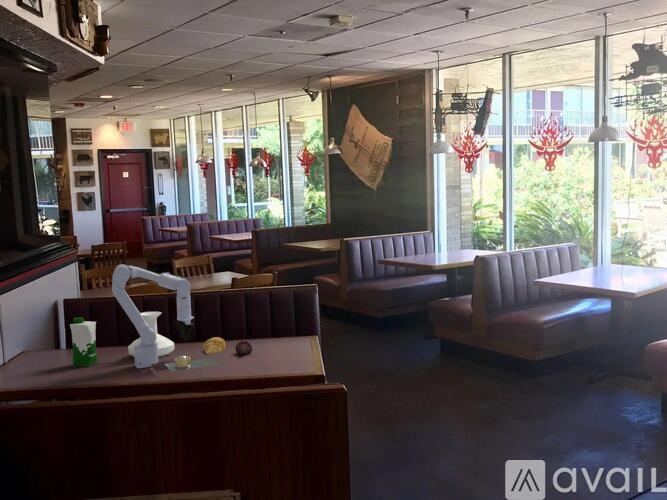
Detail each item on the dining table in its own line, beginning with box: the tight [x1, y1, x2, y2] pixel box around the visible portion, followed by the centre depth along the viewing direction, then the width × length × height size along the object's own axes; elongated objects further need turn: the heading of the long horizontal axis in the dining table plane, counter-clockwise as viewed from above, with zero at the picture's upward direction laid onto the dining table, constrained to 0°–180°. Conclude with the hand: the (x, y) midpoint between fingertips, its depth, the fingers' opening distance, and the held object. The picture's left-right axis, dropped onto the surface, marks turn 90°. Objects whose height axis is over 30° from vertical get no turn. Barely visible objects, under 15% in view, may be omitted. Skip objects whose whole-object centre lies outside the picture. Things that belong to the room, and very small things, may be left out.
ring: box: [174, 355, 192, 367], centre depth 277 cm, size 6×6×3 cm
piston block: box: [164, 355, 221, 372], centre depth 280 cm, size 20×14×5 cm
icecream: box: [235, 340, 253, 356], centre depth 298 cm, size 7×7×15 cm
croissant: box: [202, 336, 227, 355], centre depth 308 cm, size 21×10×8 cm, turn 174°
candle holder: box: [127, 311, 175, 358], centre depth 302 cm, size 20×20×19 cm
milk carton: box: [69, 316, 98, 368], centre depth 289 cm, size 9×9×20 cm
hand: (185, 338), depth 289 cm, fingers open, 7 cm apart
